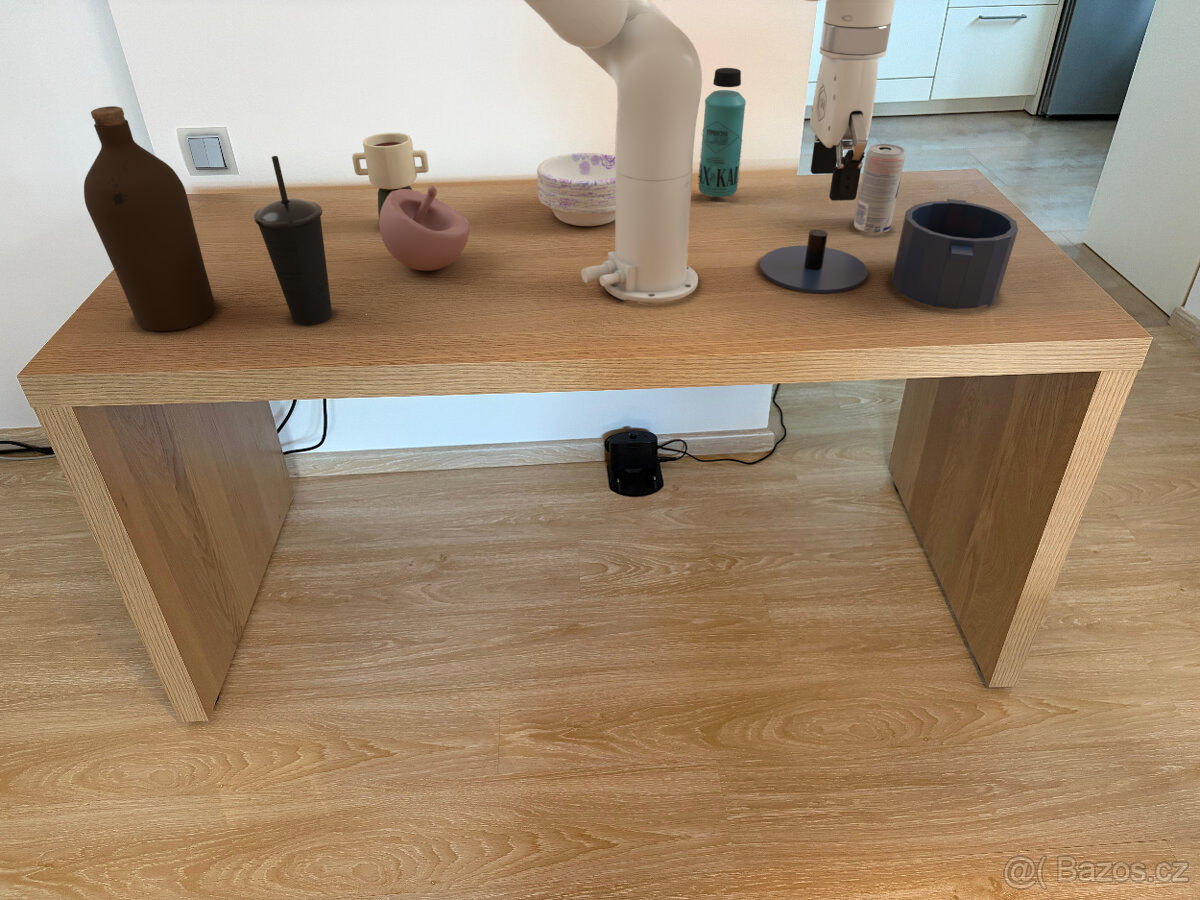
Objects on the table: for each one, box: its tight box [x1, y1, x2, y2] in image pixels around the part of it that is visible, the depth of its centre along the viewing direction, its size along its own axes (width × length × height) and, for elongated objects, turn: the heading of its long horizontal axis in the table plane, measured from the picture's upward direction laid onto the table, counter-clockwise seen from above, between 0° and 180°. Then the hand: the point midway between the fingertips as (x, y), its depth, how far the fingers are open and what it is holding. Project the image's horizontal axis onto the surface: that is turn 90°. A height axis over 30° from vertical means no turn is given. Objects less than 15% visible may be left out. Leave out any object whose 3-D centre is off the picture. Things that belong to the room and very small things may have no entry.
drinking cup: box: [253, 155, 333, 326], centre depth 100 cm, size 8×8×20 cm
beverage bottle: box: [697, 67, 747, 198], centre depth 132 cm, size 6×7×20 cm
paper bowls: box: [536, 152, 615, 227], centre depth 130 cm, size 15×15×8 cm
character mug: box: [351, 132, 430, 219], centre depth 127 cm, size 11×7×13 cm, turn 96°
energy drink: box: [853, 143, 906, 234], centre depth 124 cm, size 5×5×12 cm
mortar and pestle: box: [378, 185, 470, 272], centre depth 115 cm, size 12×12×12 cm
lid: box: [759, 228, 868, 294], centre depth 113 cm, size 14×14×6 cm
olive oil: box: [83, 105, 216, 332], centre depth 100 cm, size 11×11×25 cm
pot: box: [891, 198, 1019, 310], centre depth 108 cm, size 13×19×10 cm
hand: (832, 185), depth 108 cm, fingers open, 9 cm apart
